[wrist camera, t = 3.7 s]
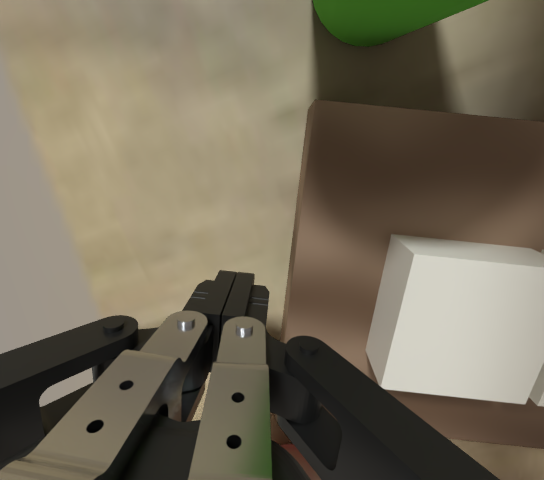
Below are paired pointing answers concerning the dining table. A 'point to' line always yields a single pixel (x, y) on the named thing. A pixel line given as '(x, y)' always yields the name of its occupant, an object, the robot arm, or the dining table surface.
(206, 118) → the dining table surface
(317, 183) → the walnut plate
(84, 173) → the dining table surface
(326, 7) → the cup
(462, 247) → the tile
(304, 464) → the decorative fruit
